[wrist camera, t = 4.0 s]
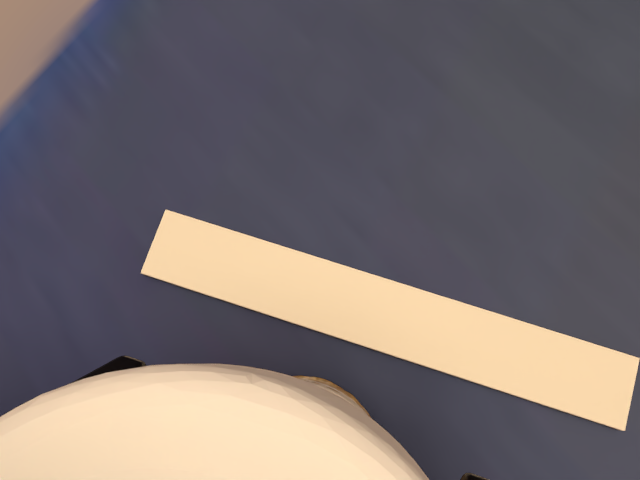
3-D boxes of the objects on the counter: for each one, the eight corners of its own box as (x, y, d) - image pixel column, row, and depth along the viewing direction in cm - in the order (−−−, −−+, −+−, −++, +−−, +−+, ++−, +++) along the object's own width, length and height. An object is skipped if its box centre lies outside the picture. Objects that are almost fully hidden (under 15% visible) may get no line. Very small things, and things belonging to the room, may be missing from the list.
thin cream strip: (619, 430, 16) (624, 430, 16) (143, 274, 18) (140, 273, 17) (634, 358, 17) (639, 358, 16) (168, 212, 18) (165, 209, 18)
